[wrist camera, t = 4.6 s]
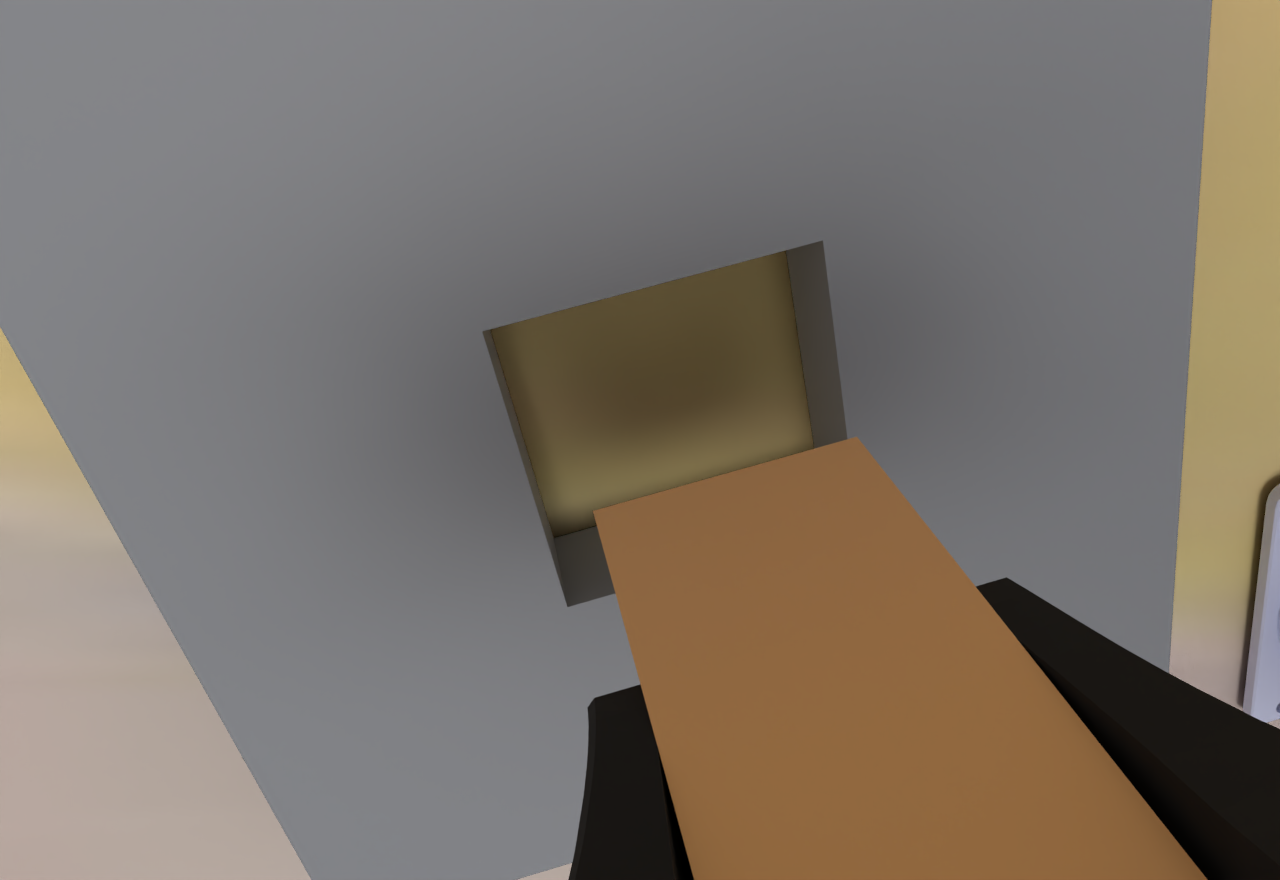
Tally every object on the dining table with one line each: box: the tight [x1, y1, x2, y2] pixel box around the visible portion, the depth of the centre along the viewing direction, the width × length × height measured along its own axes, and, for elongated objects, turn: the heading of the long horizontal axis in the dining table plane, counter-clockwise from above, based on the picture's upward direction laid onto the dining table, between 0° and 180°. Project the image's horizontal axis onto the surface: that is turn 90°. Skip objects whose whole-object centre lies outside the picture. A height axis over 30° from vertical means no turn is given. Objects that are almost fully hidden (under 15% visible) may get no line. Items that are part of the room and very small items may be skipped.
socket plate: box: [0, 0, 1212, 880], centre depth 20 cm, size 20×20×2 cm
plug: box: [593, 437, 1207, 880], centre depth 12 cm, size 4×4×8 cm
